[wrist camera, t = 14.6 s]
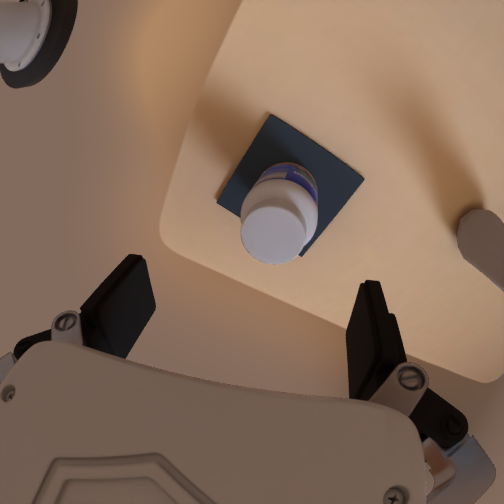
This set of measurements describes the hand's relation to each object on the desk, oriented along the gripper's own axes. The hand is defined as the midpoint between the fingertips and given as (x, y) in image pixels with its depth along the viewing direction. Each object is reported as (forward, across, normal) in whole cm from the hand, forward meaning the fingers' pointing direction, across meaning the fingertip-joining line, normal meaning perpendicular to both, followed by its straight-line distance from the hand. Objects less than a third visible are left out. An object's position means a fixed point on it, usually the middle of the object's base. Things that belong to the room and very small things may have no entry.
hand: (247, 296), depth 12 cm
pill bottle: (+16, -1, 0) cm, 16 cm away
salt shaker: (+16, -21, +2) cm, 26 cm away
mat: (+16, -1, 0) cm, 16 cm away
